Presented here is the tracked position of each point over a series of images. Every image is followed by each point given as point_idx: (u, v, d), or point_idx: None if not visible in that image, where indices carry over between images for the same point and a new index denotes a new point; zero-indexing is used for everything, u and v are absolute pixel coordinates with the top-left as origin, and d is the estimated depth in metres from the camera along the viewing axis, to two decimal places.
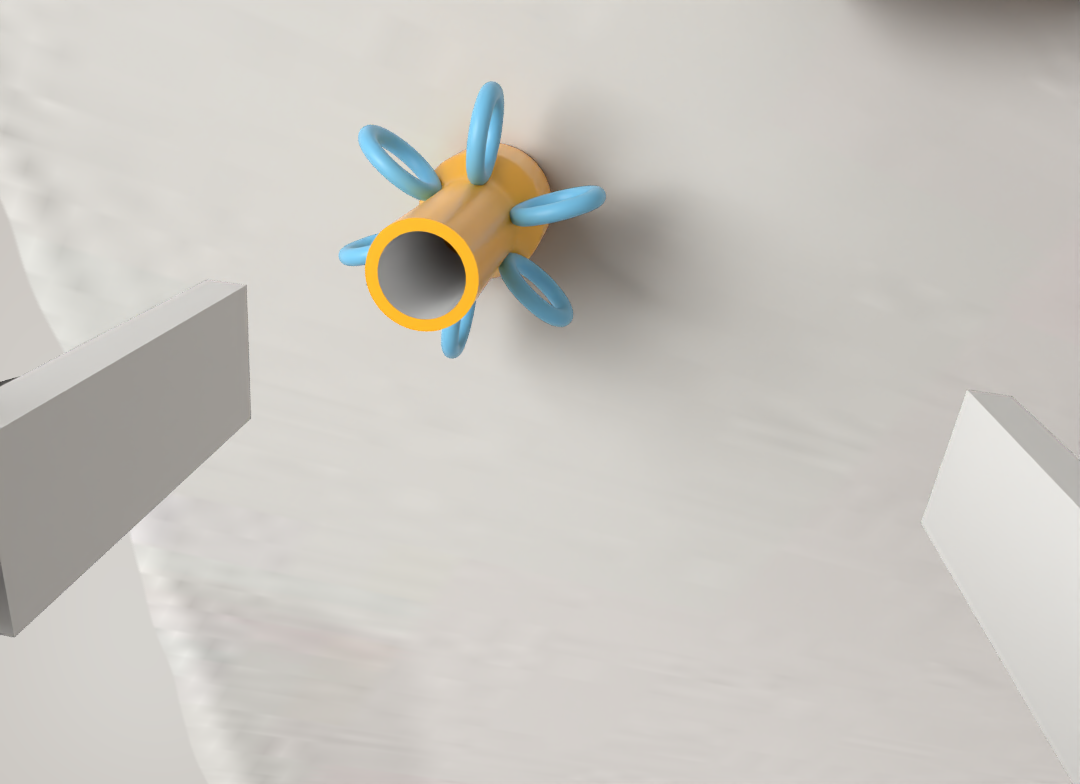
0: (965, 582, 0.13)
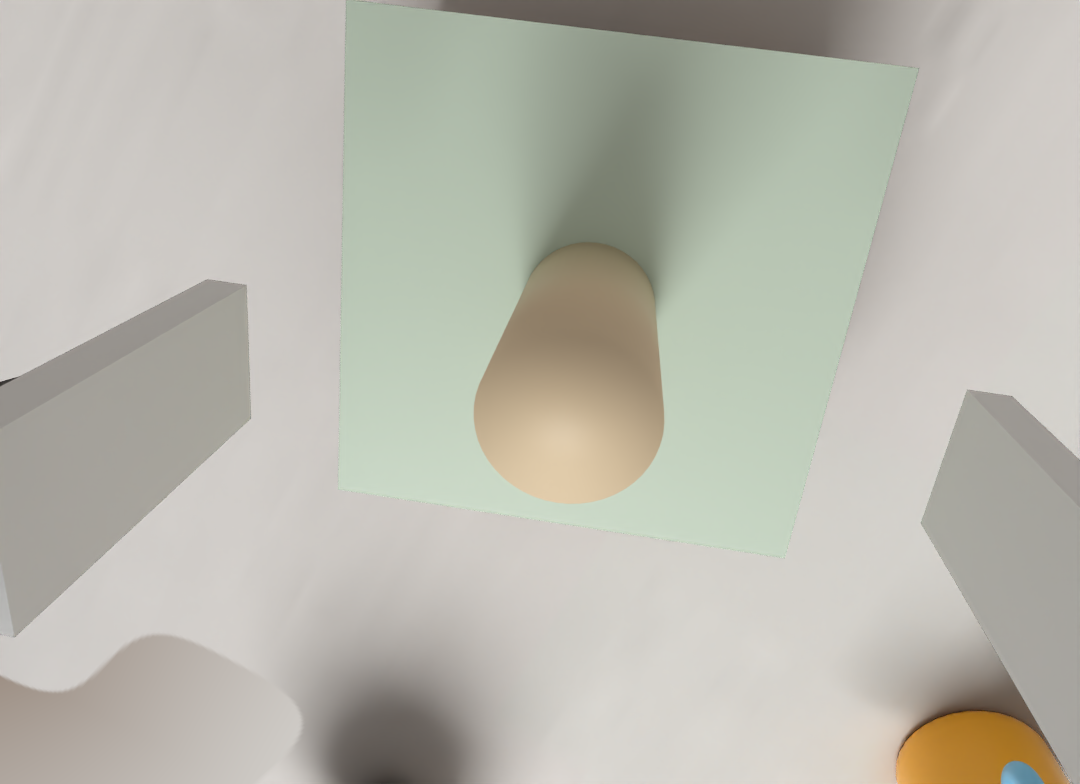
0: (965, 582, 0.13)
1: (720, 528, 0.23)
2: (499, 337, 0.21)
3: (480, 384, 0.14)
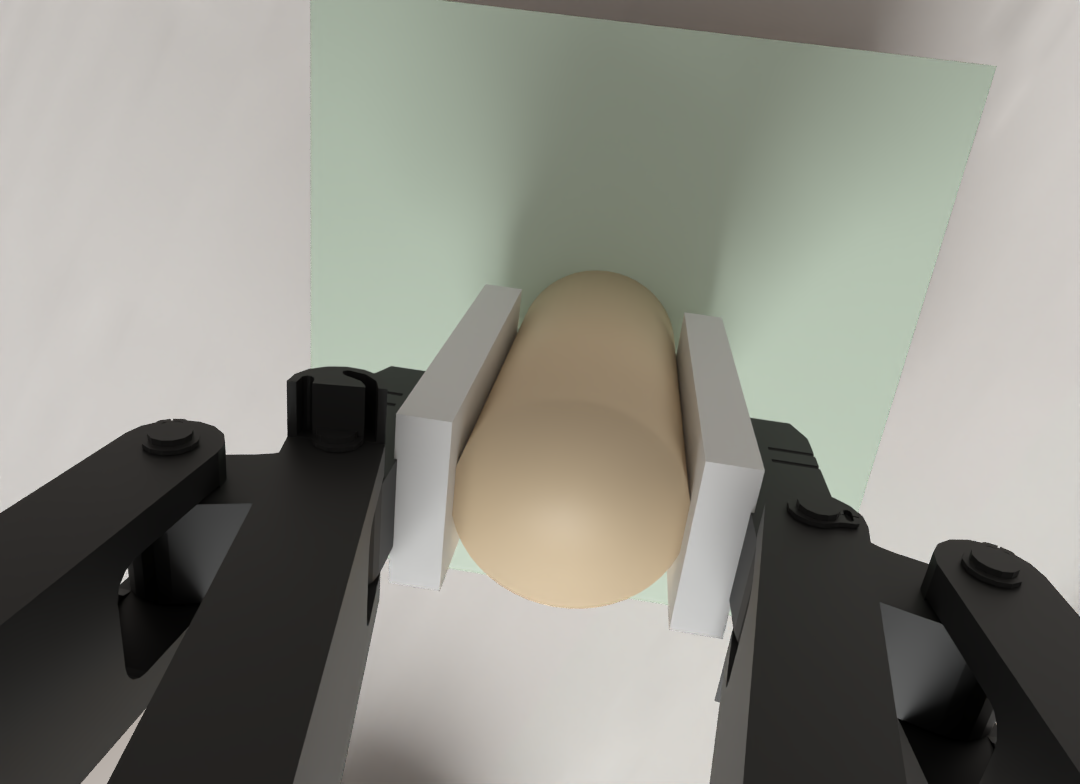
0: None
1: None
2: None
3: (458, 464, 0.11)
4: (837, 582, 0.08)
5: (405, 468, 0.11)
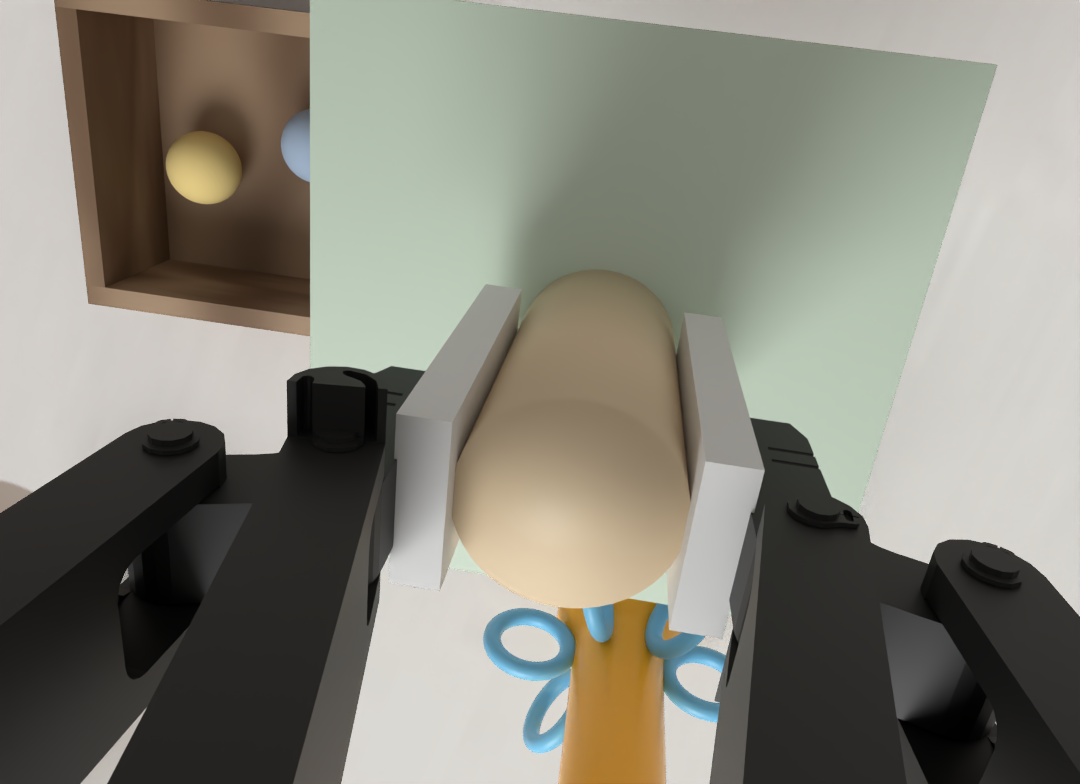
0: None
1: None
2: None
3: (458, 463, 0.11)
4: (837, 583, 0.08)
5: (405, 468, 0.11)
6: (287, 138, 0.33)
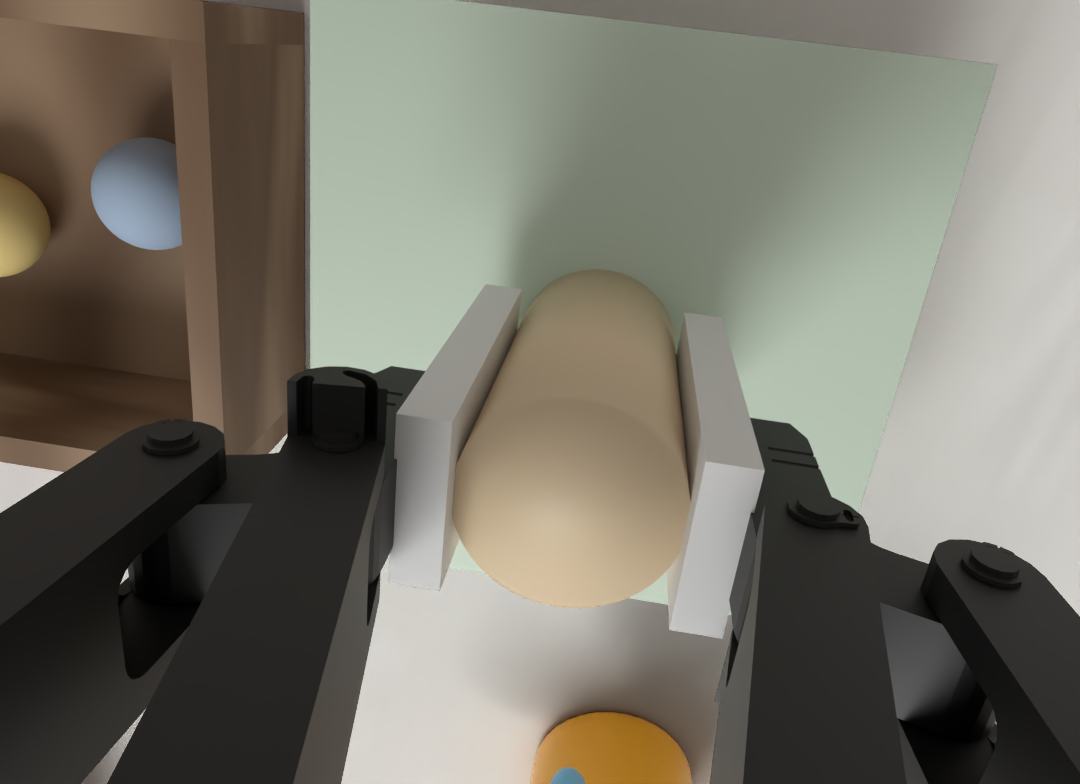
0: None
1: None
2: None
3: (458, 463, 0.11)
4: (837, 582, 0.08)
5: (405, 468, 0.11)
6: (96, 184, 0.21)
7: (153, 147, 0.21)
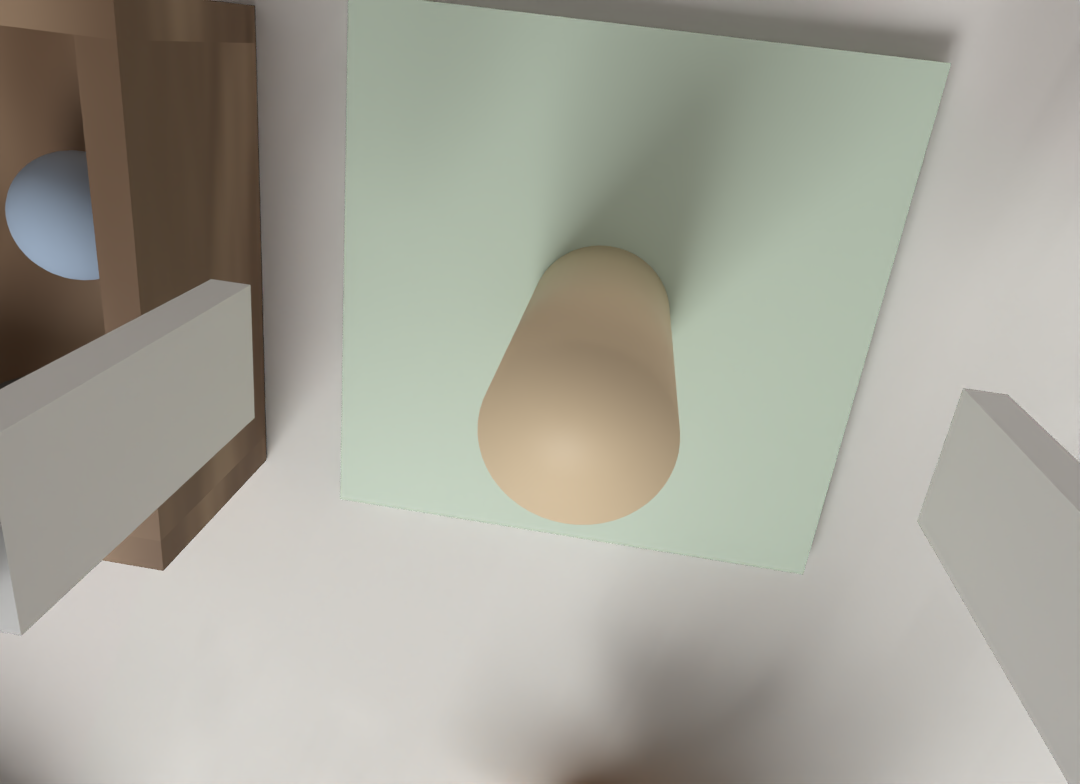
0: (961, 580, 0.13)
1: (736, 543, 0.22)
2: (507, 344, 0.21)
3: (484, 398, 0.14)
4: None
5: None
6: (10, 206, 0.18)
7: (77, 162, 0.18)
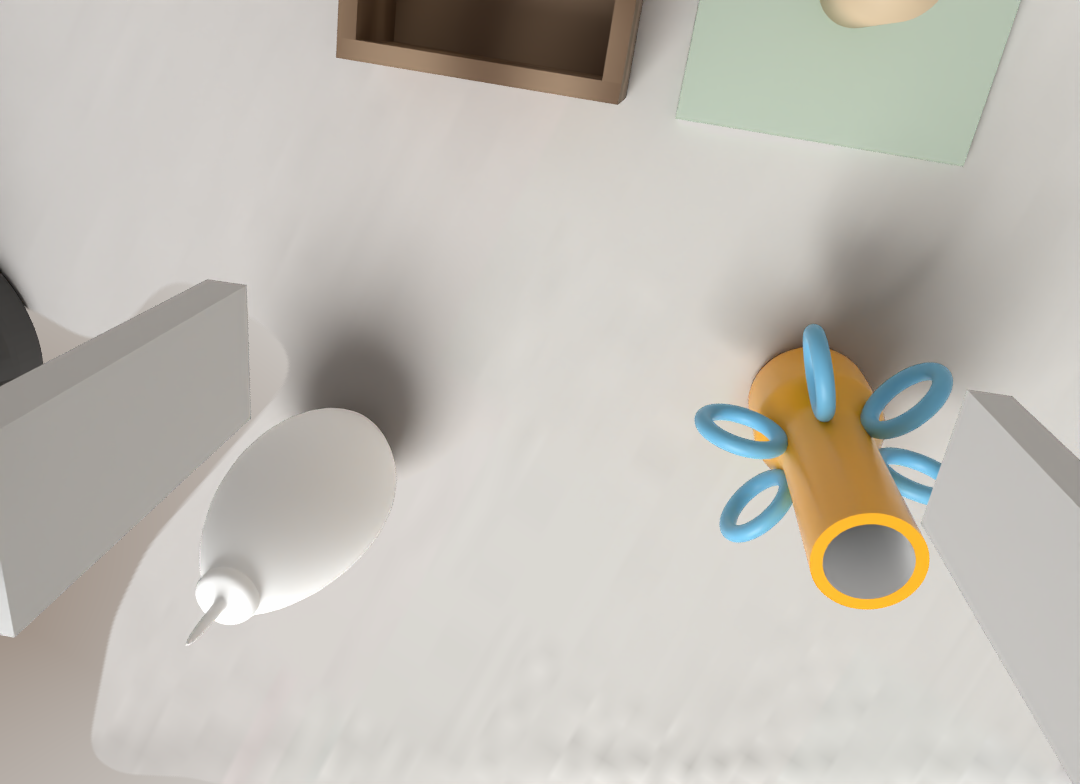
0: (965, 582, 0.13)
1: (923, 144, 0.36)
2: (800, 5, 0.35)
3: None
4: None
5: None
6: None
7: None
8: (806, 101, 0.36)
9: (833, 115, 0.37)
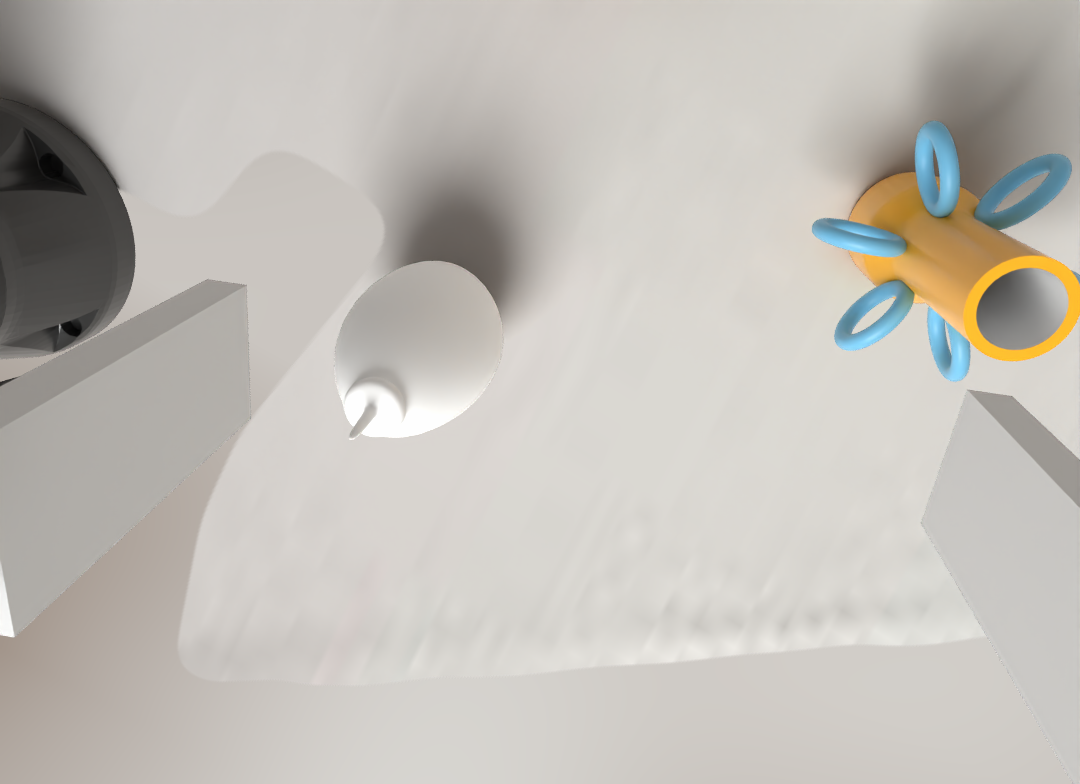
0: (965, 582, 0.13)
1: None
2: None
3: None
4: None
5: None
6: None
7: None
8: None
9: None
